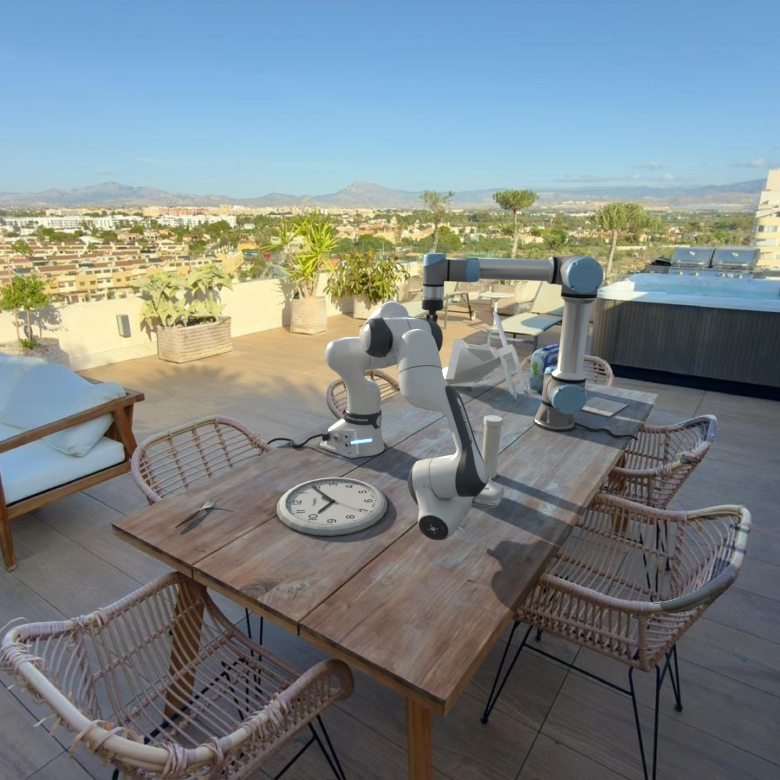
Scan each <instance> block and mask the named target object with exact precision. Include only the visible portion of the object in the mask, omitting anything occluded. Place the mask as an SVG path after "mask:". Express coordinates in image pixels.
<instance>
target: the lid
mask: <svg viewBox="0 0 780 780" xmlns="http://www.w3.org/2000/svg"><path fill="white" fill-rule="evenodd" d="M484 424H485V425H487V426H491V427H498V426H501V427H502V425H503V417H502V416H499V415H493V414H490V415H489V414H488V415H485V416H484V417H483V425H484Z"/></svg>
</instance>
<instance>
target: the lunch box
mask: <svg viewBox="0 0 780 780" xmlns="http://www.w3.org/2000/svg"><path fill="white" fill-rule="evenodd" d="M559 346H560V344H551V345H547V346H545V347H541V348H539V349H536V350H534V352H533V353H532V355H531V358H530V359H531V360H530V366H529V377H528V379H529V380H528V387H529V390H531V391H536V392H541V393H542V392H543V382H544V373H545V369H546V368H547V367H553V366H557V364H558V355H559Z"/></svg>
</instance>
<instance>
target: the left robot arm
mask: <svg viewBox="0 0 780 780" xmlns="http://www.w3.org/2000/svg"><path fill="white" fill-rule="evenodd" d="M443 343H444V334H443V330H442V328H441V326H440V325H439V323H438V322H437V323H436V322H434V321H431V320H428V319H426V318H421V317H419V318H416V317H410V315H409V311H408V310H407V308H406V307H405V306H404V305H403V304H401V303H399V302H398V301H391V300H390V301H386V302H384V303H383V304H381V305H379V306H378V307H377V308H376V309H375V310H373V312H372V313H371V314H369V316H368V318H367V319H366V321H365V322H364V323H363V325H362V326H361V328H360V330H359V334H358V336H351V337H350V336H349V337H341V338H338V339H335V340H334V339H333V340H331V341H330V342H328V344H327V346H326V348H325V351H324V359H325V362H326V364H327V366H328V367H329V369H330V370H332V371H334V372H335V373H336V375H338V376H339V377H340V378H341V379H342V381H343V383H344V386H345V389H346V403H347V407H345V408H343V410H342V411H340V416H342V418H340V419H339V420H337V421H336V422H335V423H333V424H332V425H331V426H330V427H328V428H321V429H320V433H319V434H314V435H312V436H309V437H308V438H306V440H305V441H302V442H301V443H299V444H294V440H293V439H292V438H286V437H276V438H273V439H271V440H269V441H268V442H266V444H265V445H267V446H269V445H270V444H272V443H273V442H276V441H285V442H286V441H287V442H290V447H292V448H300V447H303V446H304V445H307V443H309V442H310V441H311V440H313V439H316V438H319V437H321V441H320V443H319V448H320V449H323V450H326V451H329V452H331V453H335V454H337V455H341V456H343V457H346V458H349V459H356V458H359V457H371V456H375V455H376V456H377V455H379V454H381V453H382V452H383V451H384V450H385V449H386V447H385V444H384V440H383V434H382V421H383V416H382V408H381V388H380V385H379V384H378V383H377V382H376V381H374V380H372V379H369V378H367V377H366V376H365V371H371V370H379V369H380V370H381V369H387V368H389V367H393V366H396V370H397V379H398V387H399V392H400V394H401V396H402V398H403V399H404V400H405V402H407V403H409V404H410V405H411V406H414V407H415V408H419V409H423V410H429V411H435V412H438V413H441V414H442V415H443V416H444V417H445V418H446V420H447V423H448V426H449V429H450V433H451V435H452V439H453V442H454V444H455V445H454V446H455V453H454V454H448V455H441V456H438V457H436V456H435V457H429V458H424V459H419V460H416V461H415V462H413V464H412V466H411V468H410V470H409V472H408V477H407V487H408V491H409V493H410V496H411V498H412V500H413V501H414V503H415V505H417V507H418V517H417V525H418V529H419V531H420V532H421V534H422V535H424V536H425V537H426V538H428V539H430V540H434V541H443V540H446V539H448V538H449V537H451V536H452V535H453V534H454V533H455V532H456V531H457V529H459V527H460V526H461V524H462V522H463V520H464V518H465V517H466V516H467V515H468V513H469V511H470V510H471V509H472V507H473V505H475V506H479V507H484V508H490V509H491V508H495V507H498V506H499V505H500V503H501V502H502V500H503V499H504V492H505V487H504V486H503V485H502V484H500V483H495V482H492V479H493V478H491V477H488V472H487V468H486V465H485V463H484V460H483V458H482V453H481V451H480V449H479V446H478V443H477V440H476V438H475V437H476V436H475V434H474V431H473V428H472V425H471V421H470V419H469V415H468V413H467V409H466V407H465V404H464V402H463V399H462V396H461V395H460V393H459V391H458V390H457V388H456V387H455V386H452V385H451V384H450V385H448V383H447V382H446V380H445V378H444V376H443V372H442V369H443V367H442V361H441V356H440V351H441V349H442V347H443Z"/></svg>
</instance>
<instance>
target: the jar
mask: <svg viewBox="0 0 780 780" xmlns="http://www.w3.org/2000/svg"><path fill="white" fill-rule="evenodd" d="M501 430H502V425H501V426H498V427H491V426H487V425H485V424H484V423H483V439H482V449H481V450H482V451H481V452H482V453H481V456H482V458H483V460H484V463H485V465H486V468H487V472H488V477H491V478H492V479H494V478H497V477H498V467H499V466H498V465H499V453H500V444H501V443H500V442H501Z"/></svg>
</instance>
